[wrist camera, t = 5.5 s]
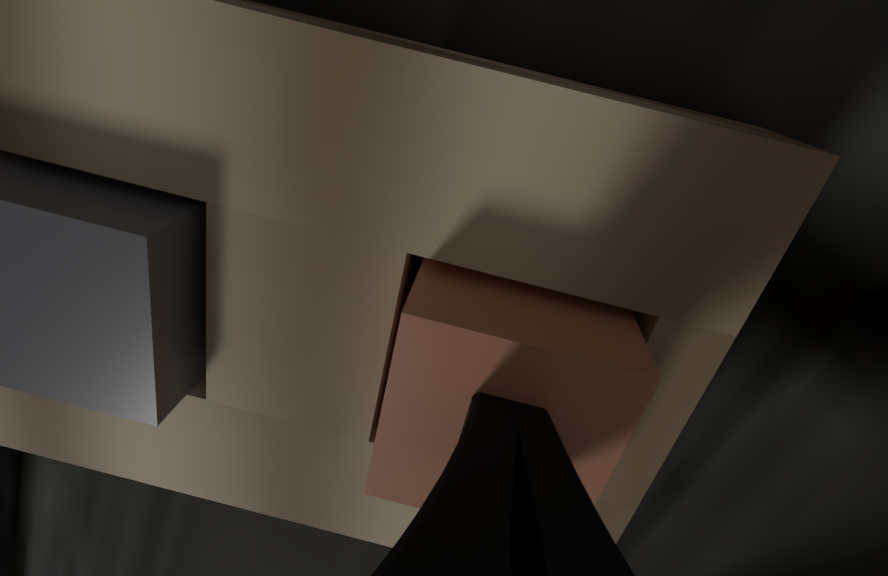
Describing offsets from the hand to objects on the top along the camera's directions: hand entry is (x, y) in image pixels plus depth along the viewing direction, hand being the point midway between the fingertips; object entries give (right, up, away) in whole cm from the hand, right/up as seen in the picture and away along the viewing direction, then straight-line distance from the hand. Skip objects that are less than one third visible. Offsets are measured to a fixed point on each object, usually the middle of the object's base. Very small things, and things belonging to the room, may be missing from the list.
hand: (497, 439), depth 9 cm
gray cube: (-8, +4, +4) cm, 10 cm away
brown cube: (0, +2, +3) cm, 4 cm away
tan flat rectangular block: (-4, +3, +4) cm, 6 cm away
